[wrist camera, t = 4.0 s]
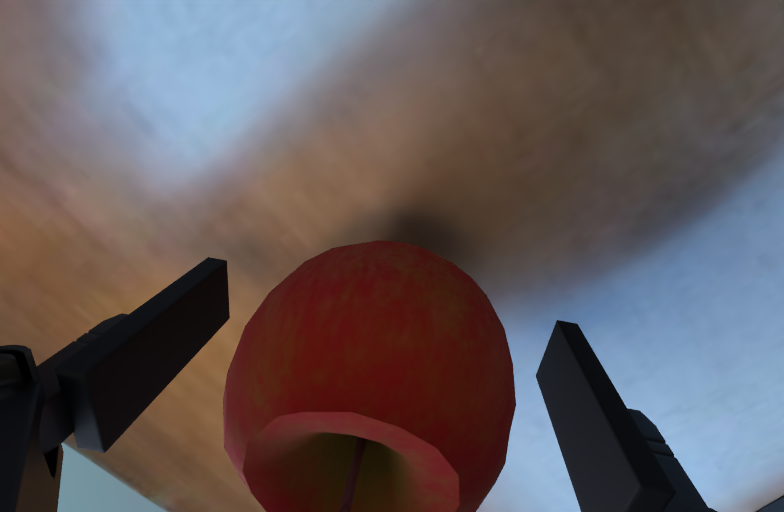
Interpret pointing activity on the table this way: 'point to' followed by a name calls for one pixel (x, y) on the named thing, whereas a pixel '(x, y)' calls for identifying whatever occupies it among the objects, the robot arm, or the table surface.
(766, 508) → the shelf
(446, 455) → the apple
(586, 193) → the table surface
